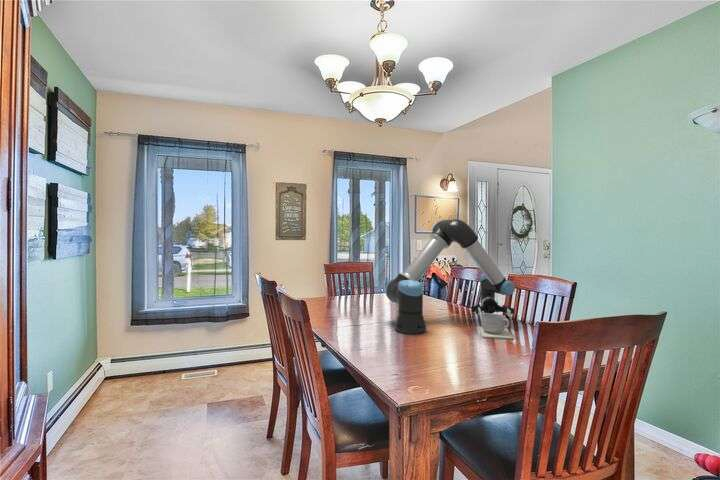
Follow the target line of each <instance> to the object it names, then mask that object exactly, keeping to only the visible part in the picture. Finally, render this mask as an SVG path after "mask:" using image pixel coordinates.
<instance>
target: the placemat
mask: <svg viewBox="0 0 720 480" xmlns="http://www.w3.org/2000/svg"><path fill="white" fill-rule="evenodd" d="M478 329H479V332H480V333H479V334H480V336H481V337H482V339H492V338H496V339H495V340H511V341H514V340H515V338H514V337H513V335H512V334H511V332H510V331H509V329H508V327H507V328H505V329H504V330H503V331H502V332H501V333H490V332H486V331H485V330H484V329H483V328H482V325H481V326H480V325H479V326H478Z"/></svg>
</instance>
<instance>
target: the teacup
mask: <svg viewBox="0 0 720 480" xmlns="http://www.w3.org/2000/svg"><path fill="white" fill-rule="evenodd" d="M480 324H481V326H482V328H483V329H484V330H485V331H486V332H490V333H501V332H502V331H503V330H504V329H505V328H507V329H508V328H509V326H510V325H511V324H510V320H509V319H508V318H507V316H505V315H503V314H499V313H491V314H490V313H487V312H485V313H481V322H480Z"/></svg>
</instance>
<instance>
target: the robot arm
mask: <svg viewBox="0 0 720 480" xmlns="http://www.w3.org/2000/svg"><path fill="white" fill-rule="evenodd" d="M431 231H432V232H431V233H430V235H429V237H430V239H429V240H428V242H427V243H426V244H425V245H424V246H423V248H422V249H421V250H420V252H419V253H418V254H417V255H416V257H415V258H414V259H413V260H412V262H411V263H410V264H409V265H408V266H407V268H406V269H405V270H404V271H403V272H400V273H398V274H397V275H396V277H395V278H393V279H391V280H389V281H388V282H387V284H386V286H385V287H384V288H385V289H384V292H385V293H384V294H385V296H386V297H387V299H388V300H389V301H391V302H392V303H394V304H397V305H398V306H397V307H398V308H397V310H398V312H397V313H398V315H397V317H396V320H395V322H394V323H395V324H394V331H396V332H397V333H401V334H404V335H405V334H408V335H417V334H418V335H419V334H423V333H426V332H427V324H426V321H425V317H424V311H423V309H424V308H423V307H424V303H423V302H424V296H423V295H424V288H423V284H422V283H421V282H419V280H420V279H421V278H422V277H423V275H425V273H426V272H427V270H428V269H429V268H430V266H432V264H433V263H434V261H436V259H437V258H438V257H439V255H440V254H441V253H442V252H443V250H445V249H448V248H449V247H450V246H451V245H452V243H457V244H458V245H459V246H460V247H461V248H462V249H465V250H466V252H467V253H468V254H469V256H470V257H471V258H472V260H473V261H474V263H475V264H476V266H478V269H480V270H481V271H482V274H481V275H480V298H479V302H480V304H479V303H477V304H476V305H473V306H471V312H472V313H474V312H475V314H476V315H478V316H479V317H480V316H481V314H482V312H485V313H490V314H496V313H504V314H506V315H507V316H508V317H509V318H511V317H512V316H511V315H514V314H515V308H513V307H511V306H510V307H509V306H507V305H505V304H502V305H500V304H498V302H497V300H496V294H499V295H501V296H502V295H503V296H511V295H513V294H514V293H515V289H516V287H515V283H514V282H513V281H512V280H507V277H505V276H504V274H503V273H502V271H501V270H500V269H499V267H498V266H497V265H496V263H495V261H493V259H492V258H491V256H490V255H489V254H488V253H487V251H486V250H485V248H484V247H483V245H482V244H481V242H480V241H479V236H478V234H477V233H476V232H475V231H474V230H473V228H472V227H471V226H470V225H469V224H467V223H466V222H465V221H464V220H461V219H457V218H456V219H442V220H438V221H437V222H436V223H434V225H433V227H432V228H431ZM481 317H482V316H481Z"/></svg>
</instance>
